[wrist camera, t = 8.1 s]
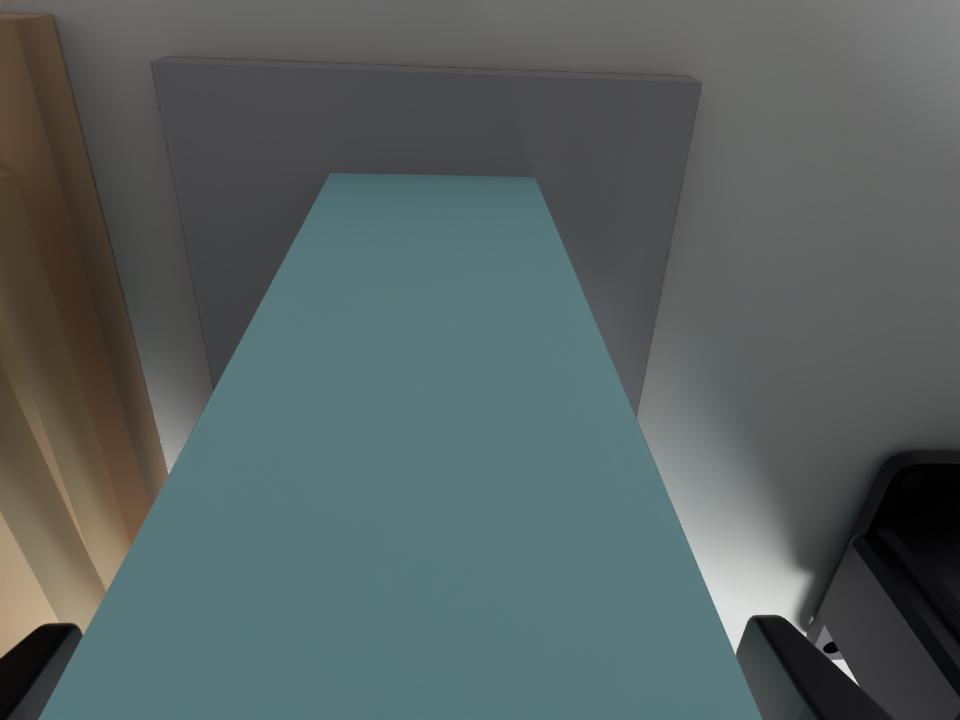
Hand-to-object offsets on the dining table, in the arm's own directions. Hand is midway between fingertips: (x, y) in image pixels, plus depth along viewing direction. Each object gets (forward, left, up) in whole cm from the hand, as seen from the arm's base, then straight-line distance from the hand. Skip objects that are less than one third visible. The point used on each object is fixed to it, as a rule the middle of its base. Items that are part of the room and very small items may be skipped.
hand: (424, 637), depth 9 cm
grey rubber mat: (0, 0, -5) cm, 5 cm away
